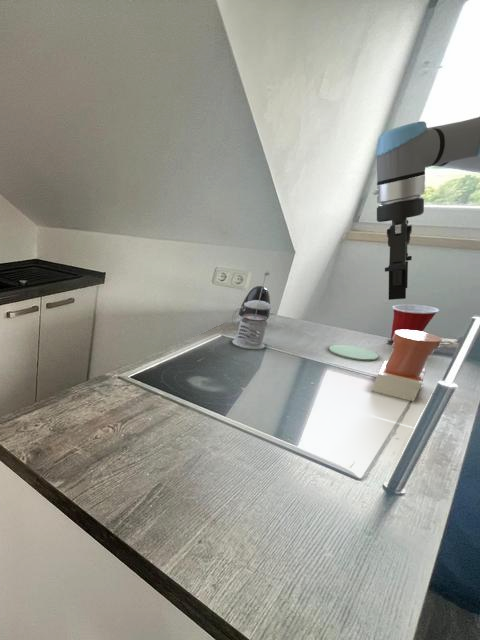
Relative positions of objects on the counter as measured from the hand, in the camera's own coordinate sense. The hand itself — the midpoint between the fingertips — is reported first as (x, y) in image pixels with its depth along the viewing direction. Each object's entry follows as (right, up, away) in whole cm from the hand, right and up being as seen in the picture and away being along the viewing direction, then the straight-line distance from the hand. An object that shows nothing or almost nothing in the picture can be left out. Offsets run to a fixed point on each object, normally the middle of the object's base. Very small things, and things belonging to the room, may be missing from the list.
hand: (398, 293), depth 92 cm
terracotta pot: (+10, -19, +9) cm, 23 cm away
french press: (-9, -10, +43) cm, 45 cm away
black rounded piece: (+4, -2, +60) cm, 60 cm away
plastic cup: (+43, -9, +41) cm, 60 cm away
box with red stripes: (+10, -23, +11) cm, 28 cm away
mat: (+19, -14, +32) cm, 40 cm away
